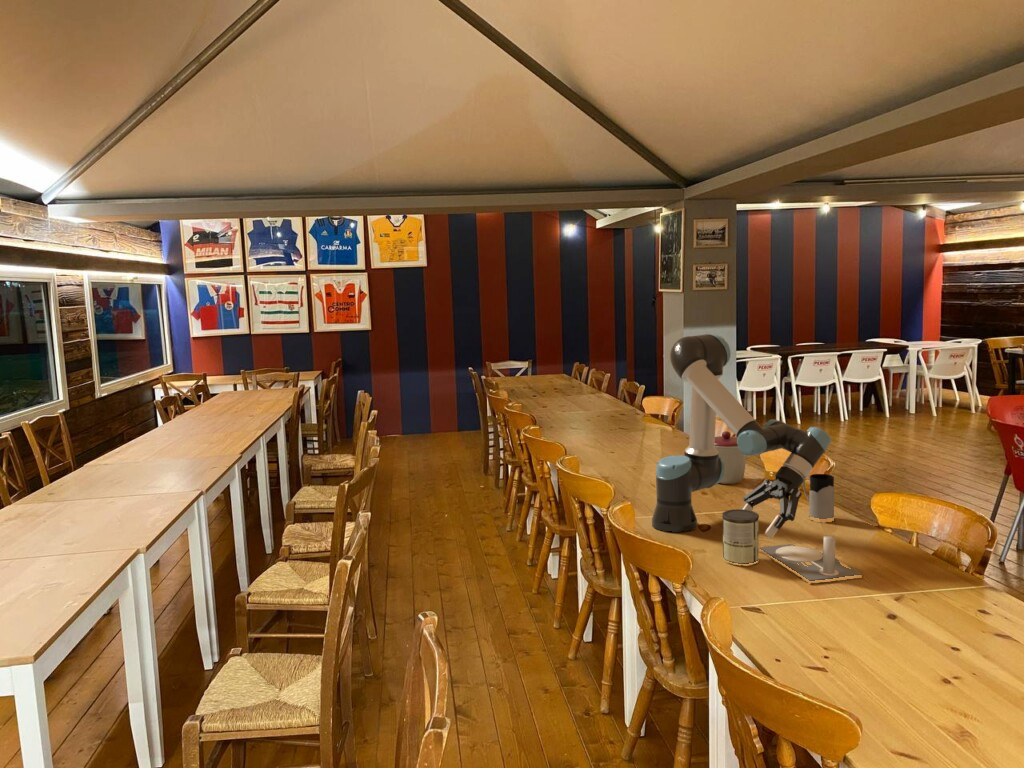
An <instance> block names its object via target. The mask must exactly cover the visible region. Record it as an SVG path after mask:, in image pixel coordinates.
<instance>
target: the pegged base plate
mask: <svg viewBox="0 0 1024 768" xmlns="http://www.w3.org/2000/svg"><path fill="white" fill-rule="evenodd" d="M822 539H823V540H822V541H823V542H822V543H823V546H822V547H823V550H822V551H823V553H821V552H819V551H817V550H815V549H812V548H808V547H801V546H795V545H793V544H794V543H788V544H781V545H777V544H776V545H769V546H768V545H767V546H760V547H759V546H758V550H759V549H761V550H763V551H764V552H766V553H767V554H769V555H770V556H772V557H773V558H775V559H777V560H778V561H780V562H782V563H783V564H785V565H786V566H788V567H789V568H791V569H792V570H794V571H796V572H797V573H799V574H800V575H802V576H803V577H805V578H806V579H808V580H809V581H815V580H825V579H833V578H839V577H845V576H854V575H862V574H863V573H862V572H861V571H858V570H857V569H855V568H853V567H851V566H850V568H851V569H849V568H846V567H844V566H842V565H841V564H840V562H839V561H840V559H837V558H836V537H835V536H832V535H823V538H822ZM791 545H793V546H791ZM801 562H803V563H804V564H805V565H807V564H806V563H805V562H810V563H811V564H812V565H807V566H808V567H807V566H804V565H803V564H802V563H801ZM797 563H798V564H799V565H798V564H797Z"/></svg>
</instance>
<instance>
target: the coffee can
mask: <svg viewBox="0 0 1024 768" xmlns="http://www.w3.org/2000/svg"><path fill="white" fill-rule="evenodd" d="M741 509H742V508H741ZM741 509H740V508H739V509H737V508H736V509H735V508H734V509H729V510H725V511H723V512H722V514H721V516H722V559H723V558H724V559H725V560H726V561H729V562H732V563H738V564H749V563H754V562H756V561H758V560H759V518H760V515H759V514H758V512H755V511H754V510H752V511H749V510H741Z"/></svg>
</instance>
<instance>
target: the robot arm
mask: <svg viewBox="0 0 1024 768" xmlns="http://www.w3.org/2000/svg"><path fill="white" fill-rule="evenodd" d="M669 357H670V362H671V363H670V364H671V366H672V369H674V371H675V373H676V374H677V375H678V377H679V378H680V379H681V380H682V381H683V382H685V383H689V385H690V386H691V392H690V393H691V396H690V417H689V418H690V419H689V420H690V423H689V439H688V440H689V442H688V443H689V445H688V446H687V447H686V448H685V449H684V452H683V453H684V454H683V455H681V454H679V455H678V454H677V455H675V454H674V455H669V456H665V457H663V458H660V459H659V460H658V461H657V463H656V470H655V478H656V479H655V480H656V481H655V482H656V483H655V485H656V490H655V491H656V505H655V508H654V510H653V514H652V517H651V526H652V527H653V528H654V529H655V530H659V531H661V530H662V531H661V532H666V531H672V532H671V533H683V532H682V531H686V532H690V531H689V530H691V531H693V530H692V529H694V528H695V529H697V528H698V519H697V515H696V512H695V510H694V507H693V504H692V493H693V492H697V491H701V490H704V489H710V488H712V487H714V486H716V485H718V484H720V483H719V482H720V481H721V480H722V478H723V476H724V472H725V466H724V463H723V462H722V461H721V460H722V459H721V457H720V456H719V451H718V450H717V449H716V448H715V447H714V446H715V437H716V424H717V422H716V421H717V416H718V417H719V418H720V419H721V421H722V422H723V423H724V424H725V425H726V427H728V429H729V430H730V431H731V432H732V433H733V434H734V435H735V437H738V438H737V445H738V447H739V450H740V451H741V452H742V453H743V454H745V455H746V456H751V457H752V456H759V455H762V454H765V453H768V452H774V451H777V450H781V449H782V450H785V451H788V452H789V453H790V454H788V455H787V458H786V459H785V461H784V462H783V464H782V466H781V467H779V469H778V470H777V472H776V473H775V479H774V480H773V481H771V480H770V479H769V478H765V479H764V480H763V482H761V484H759V485H758V486H757V487H755V488H754V489H753V490H751V491H750V492H749V493H747V494H746V495H744V496H743V497H742V500H743V501H744V502H745V503H744V504H743V506H742V508H741V510H749V511H754V507H755V506H757V505H759V504H761V503H763V502H765V501H766V500H768V499H770V500H771V499H777V500H779V512H780V513H778V514H777V515H776V516H775V518H774V519H773V520H772V522H771V523H770V524H769V526H768V527H767V528H766V530H765V531H764V534H765V536H767V537H768V539H773V538H774V536H775V535H776V534H777V532H778V530H781V529H782V527H783V525H784V524H785V523H786V522H787V521H791V522H793V521H794V520H795V517H796V514H797V509H798V506H799V505H798V504H799V500H800V498H801V497H802V495H803V493H802V492H801V490H800V489H799V488H800V487H801V485H803V479H805V480H806V478H808V475H810V473H811V472H812V470H813V468H814V467H815V465H816V464H817V463H818V462H819V460H820V459H821V457H822V456H823V455H824V454H825V453H826V451H827V449H828V448H829V447H830V444H831V442H832V438H831V436H830V434H828V433H827V432H826V431H825V430H823V429H821V428H819V427H817V426H810V427H809V428H808V429H807V430H803V429H799V428H797V427H795V426H793V425H790V424H789V423H788V424H787V423H786V422H784V421H782V420H778V419H775V418H774V419H768V420H767V422H765V423H764V424H763V426H761V425H760V423H759V422H758V421H757V420H755V418H754V417H753V416H752V415H751V414H750V413H749V412H748V410H746V408H745V407H744V406H743V405H742V404H741V403H740V402H739V400H737V399H736V397H735V396H734V395H733V394H732V393H731V392H730V391H729V389H727V387H726V386H725V385H724V384H723V383H722V382H721V381H720V380H719V379H720V378H721V377H722V376H723V373H724V367H725V366H726V365H727V364H728V363H729V362H730V360H731V348H730V346H729V343H728V342H727V341H726V340H725V338H724V337H722V336H720V335H718V334H709V333H706V334H700V335H699V334H698V335H690V336H683V337H681V338H679V339H678V340H676V341H675V343H674V344H673V346H672V347H671V350H670V355H669ZM695 529H694V530H695Z"/></svg>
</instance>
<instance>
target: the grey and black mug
mask: <svg viewBox="0 0 1024 768" xmlns="http://www.w3.org/2000/svg"><path fill="white" fill-rule="evenodd" d="M807 478H808V479H809V490H808V491H809V495H808V493H807V490H806V481H805V480H806V478H805V479H803V483H802V488H803V493H804V495H805V496H804V497H806V499H807V501H808V503H809V504H808V505H809V508H808V509H809V511H808V516H809V515H810V516H811V517H814V518H819V519H827V518H833V517H834V518H835V477H834V476H833V475H831V474H826V473H814V474H811V475H810V474H808V476H807Z"/></svg>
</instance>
